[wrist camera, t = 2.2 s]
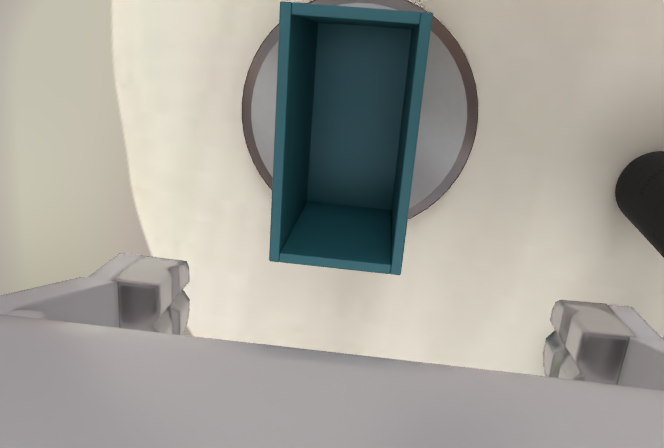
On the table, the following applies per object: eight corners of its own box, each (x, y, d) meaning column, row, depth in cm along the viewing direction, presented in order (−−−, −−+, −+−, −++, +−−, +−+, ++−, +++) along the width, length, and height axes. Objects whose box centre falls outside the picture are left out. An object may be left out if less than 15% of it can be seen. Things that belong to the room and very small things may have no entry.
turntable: (335, -62, 34) (333, -67, 32) (525, 93, 35) (531, 95, 34) (203, 136, 38) (196, 139, 37) (377, 265, 40) (377, 274, 38)
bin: (421, 21, 33) (433, 12, 23) (398, 215, 37) (400, 275, 27) (310, 12, 33) (277, 1, 24) (298, 205, 37) (267, 261, 28)
